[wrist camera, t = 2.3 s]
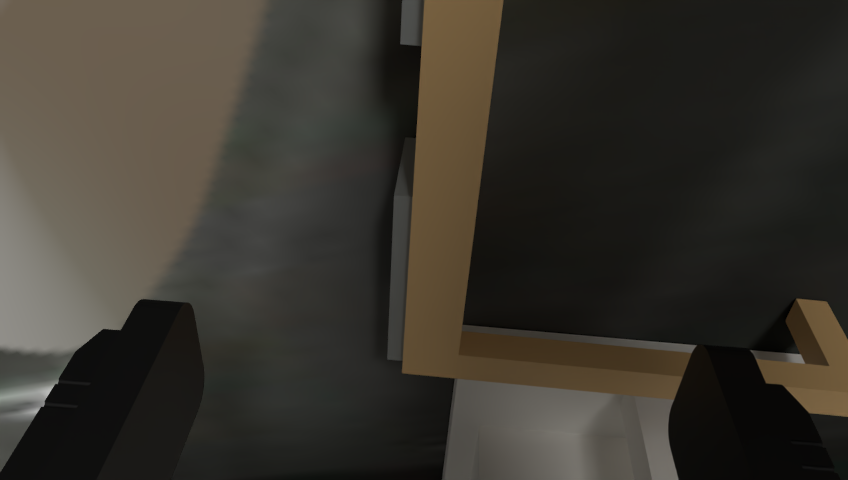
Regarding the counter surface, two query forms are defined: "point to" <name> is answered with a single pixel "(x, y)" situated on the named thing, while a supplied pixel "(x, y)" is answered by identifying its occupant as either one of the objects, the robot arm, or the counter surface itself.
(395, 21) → the counter surface
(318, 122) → the counter surface
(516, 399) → the display stand
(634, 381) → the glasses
